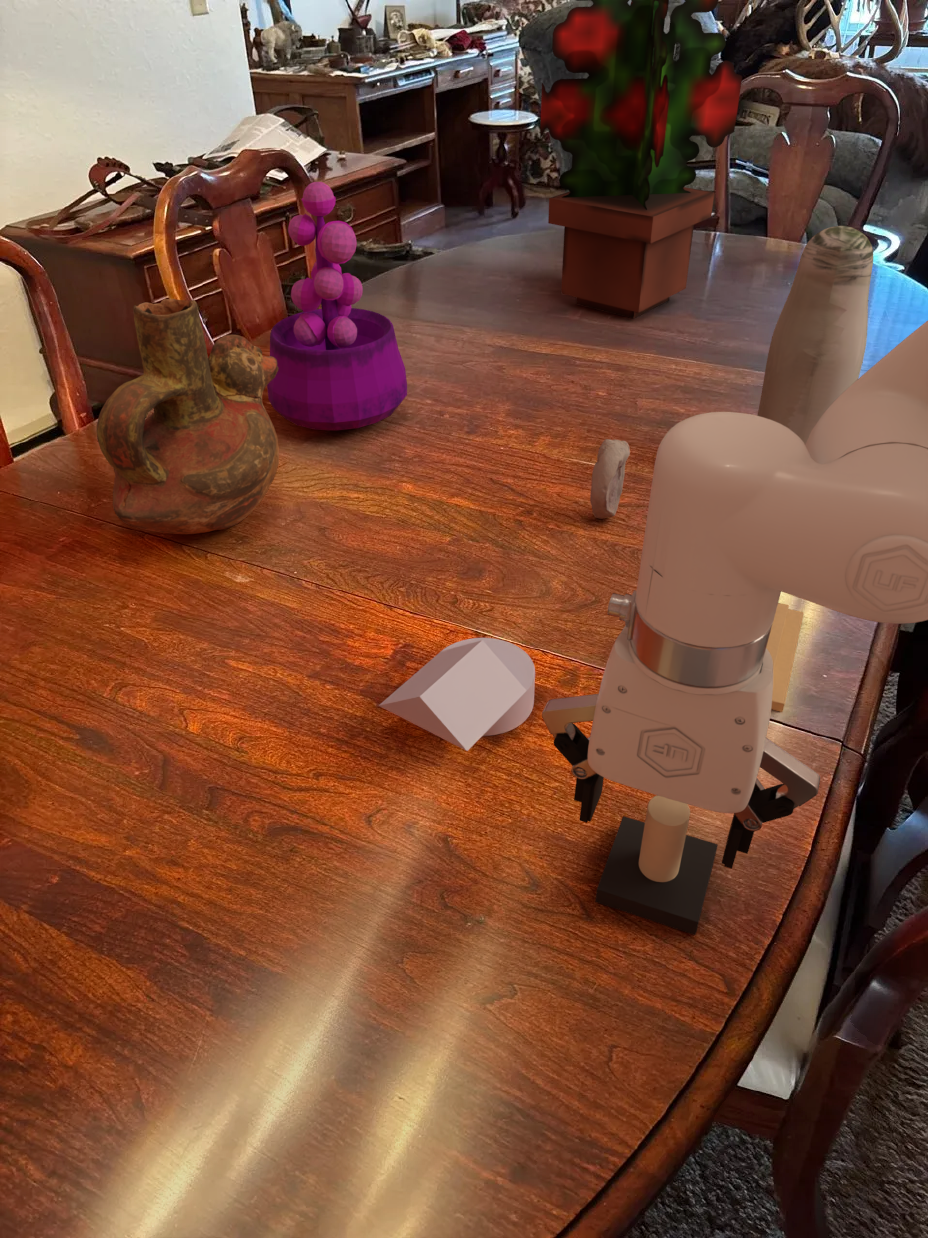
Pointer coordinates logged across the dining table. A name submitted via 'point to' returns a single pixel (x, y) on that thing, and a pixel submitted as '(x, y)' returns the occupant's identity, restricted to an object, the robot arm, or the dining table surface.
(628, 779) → the robot arm
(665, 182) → the potted plant
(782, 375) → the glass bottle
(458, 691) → the wedge on round base
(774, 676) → the base pad
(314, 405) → the decorative plant
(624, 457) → the fossil
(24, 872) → the dining table surface
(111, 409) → the ceramic vessel
